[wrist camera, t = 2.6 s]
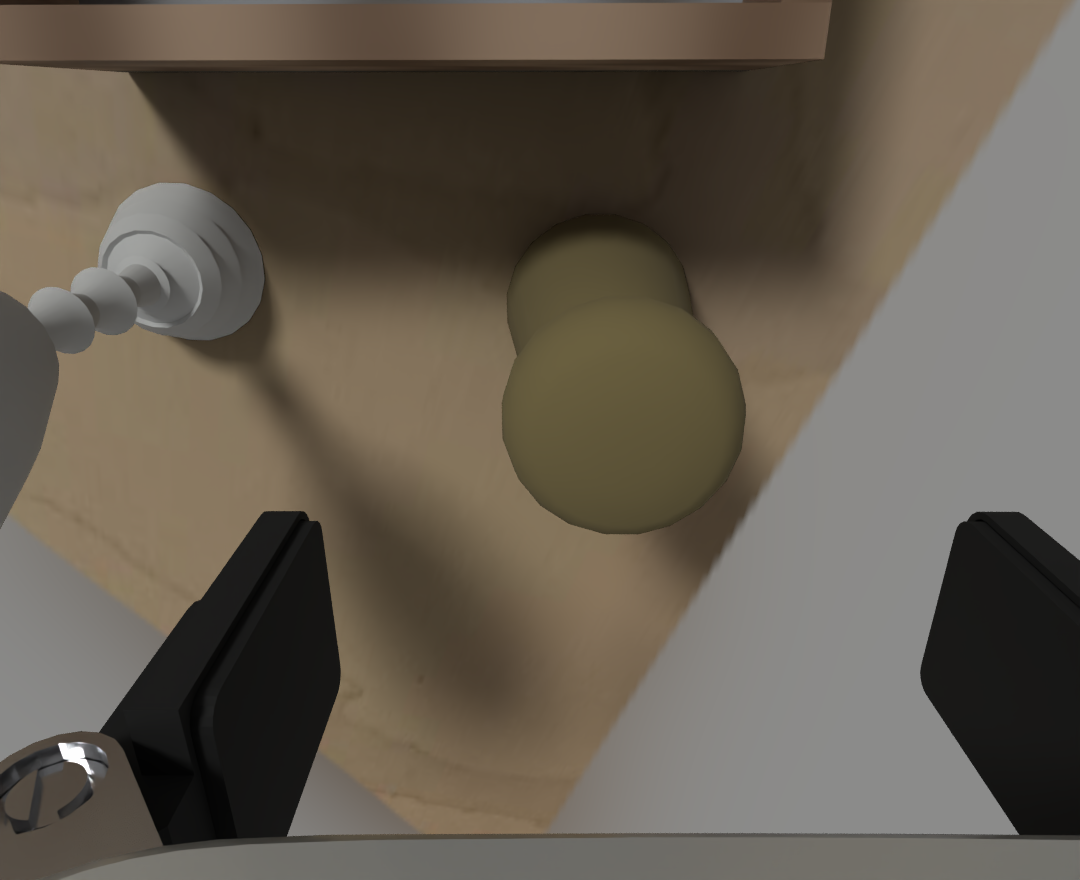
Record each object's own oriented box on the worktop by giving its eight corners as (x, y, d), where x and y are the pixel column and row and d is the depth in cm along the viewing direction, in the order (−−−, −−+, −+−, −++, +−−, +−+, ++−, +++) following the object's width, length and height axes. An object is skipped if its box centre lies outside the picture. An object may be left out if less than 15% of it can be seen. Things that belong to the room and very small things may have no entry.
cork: (666, 405, 26) (739, 598, 16) (494, 379, 26) (458, 559, 16) (710, 230, 23) (827, 326, 13) (520, 198, 23) (496, 273, 13)
